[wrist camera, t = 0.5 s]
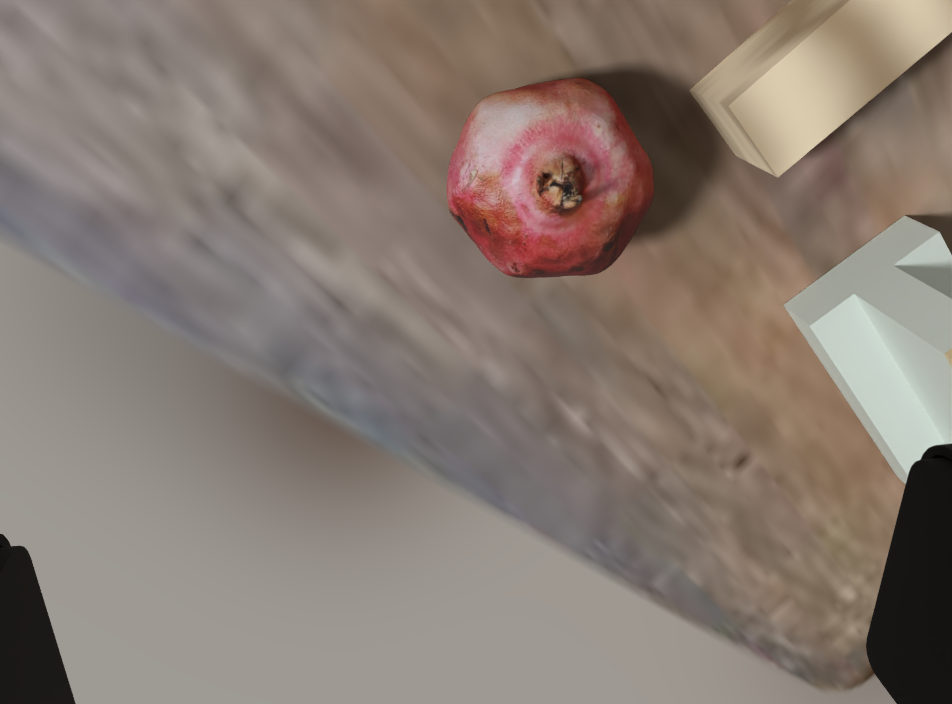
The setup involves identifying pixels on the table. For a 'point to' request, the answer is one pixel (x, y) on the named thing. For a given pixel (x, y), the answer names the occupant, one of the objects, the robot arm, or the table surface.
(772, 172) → the birch bar
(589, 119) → the fruit
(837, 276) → the ridge stand
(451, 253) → the table surface
